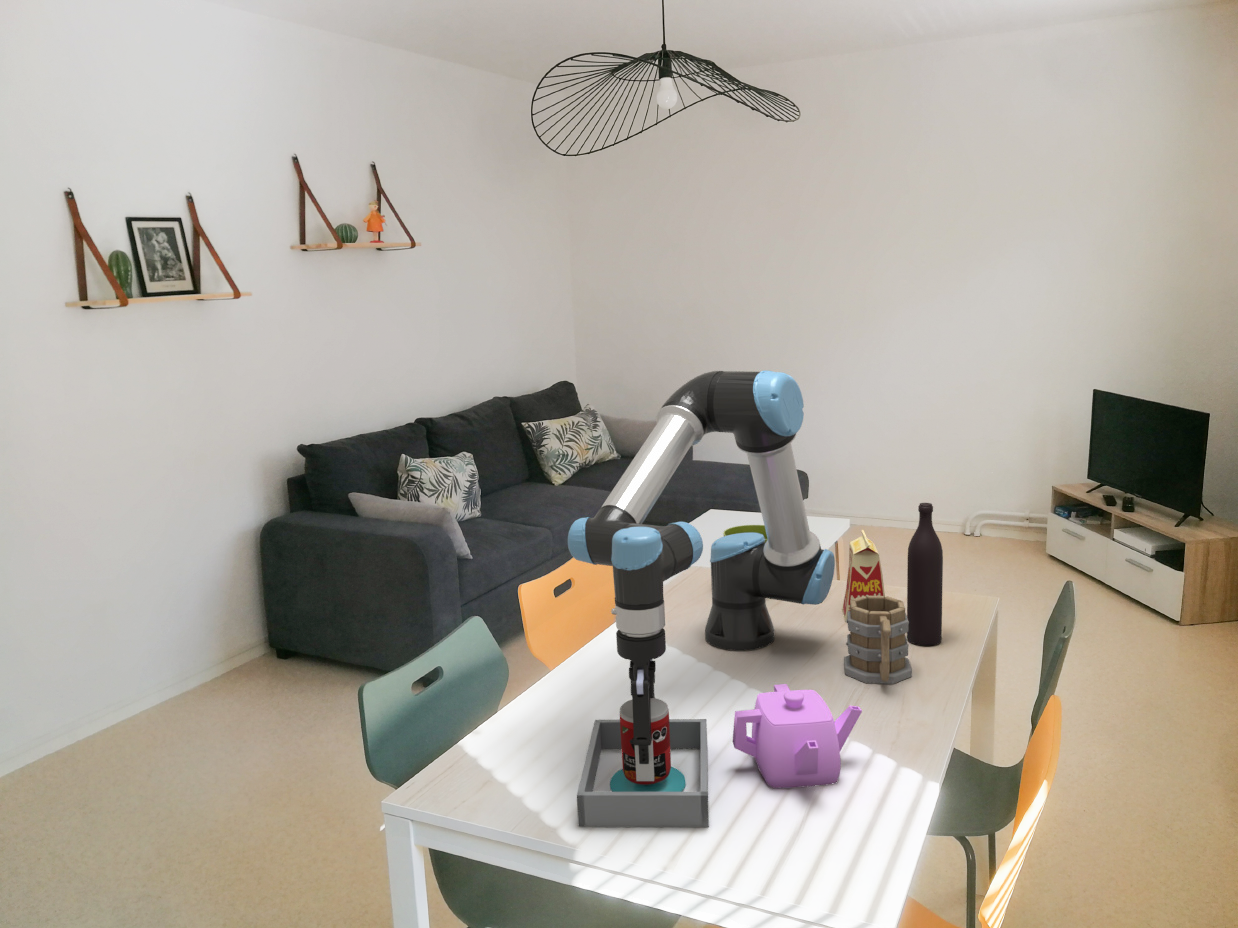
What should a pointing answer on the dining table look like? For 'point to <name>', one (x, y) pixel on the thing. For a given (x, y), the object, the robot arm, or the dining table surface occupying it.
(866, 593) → the milk carton
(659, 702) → the canned food
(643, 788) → the grey square tray
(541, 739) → the dining table surface
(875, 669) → the tankard
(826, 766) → the teakettle
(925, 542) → the wine bottle
